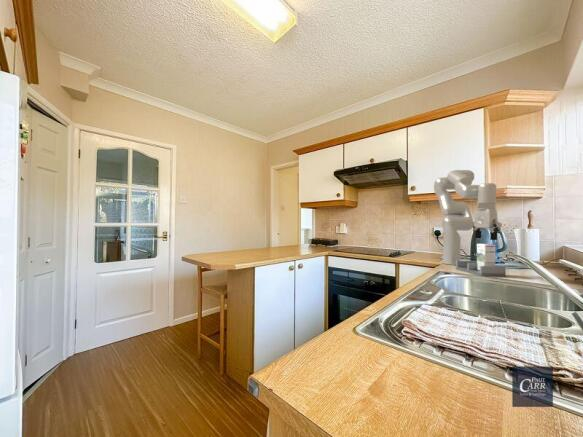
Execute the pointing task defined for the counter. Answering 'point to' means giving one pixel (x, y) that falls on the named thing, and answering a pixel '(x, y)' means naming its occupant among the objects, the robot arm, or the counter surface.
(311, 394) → the counter surface
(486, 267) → the slot rack
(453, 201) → the robot arm
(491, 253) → the syrup box
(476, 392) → the counter surface
